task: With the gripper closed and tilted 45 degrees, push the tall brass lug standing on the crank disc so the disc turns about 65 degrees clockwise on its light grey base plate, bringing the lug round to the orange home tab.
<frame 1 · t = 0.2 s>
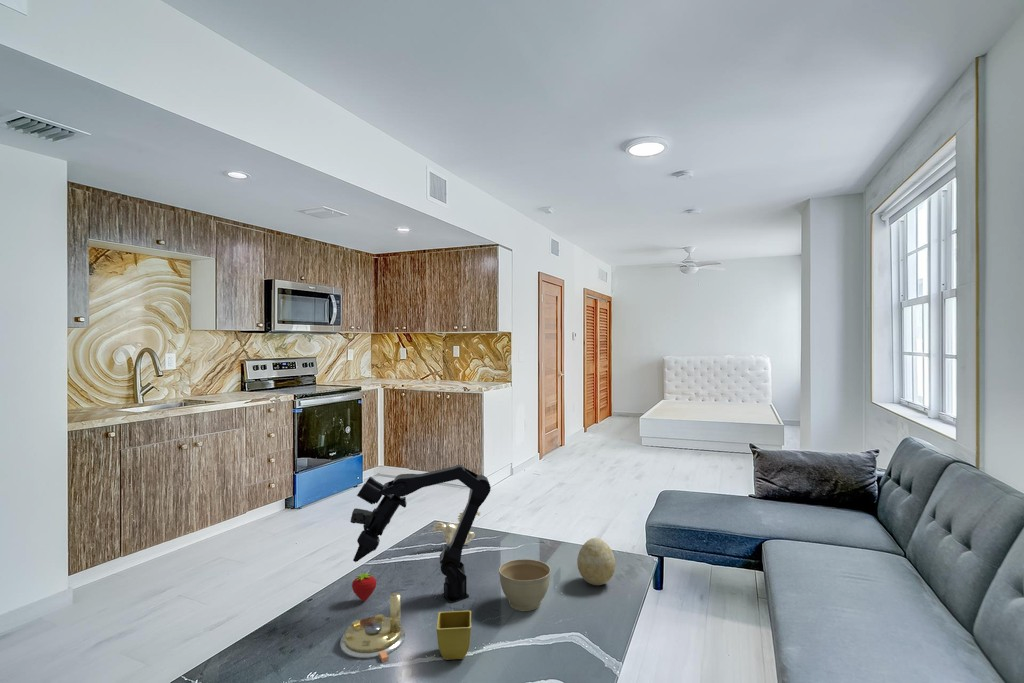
hand: (356, 555, 158), 15 cm above the table, tool tilted 35°, fingers open, 9 cm apart
planter bowl: (524, 604, 157), on the table
home tab: (383, 658, 129), on the table
flower pot: (454, 654, 131), on the table
base plate: (373, 639, 138), on the table
fossilized egg: (596, 584, 171), on the table
strawberry: (364, 602, 159), on the table
unicorn: (456, 548, 202), on the table
crank disc: (373, 615, 138), point 7 cm above the table, hinge at 0.0°
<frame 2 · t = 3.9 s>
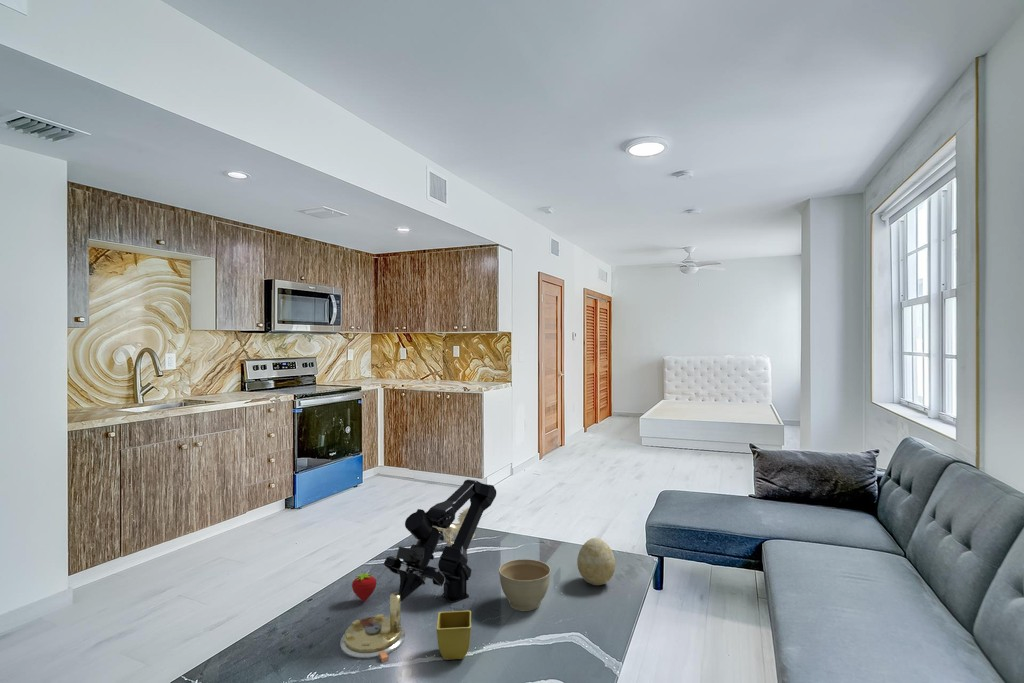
hand: (399, 600, 139), 10 cm above the table, tool tilted 45°, fingers closed, pressing on crank disc
crank disc: (373, 615, 138), point 7 cm above the table, hinge at -0.1°, touching gripper
everything else where it was.
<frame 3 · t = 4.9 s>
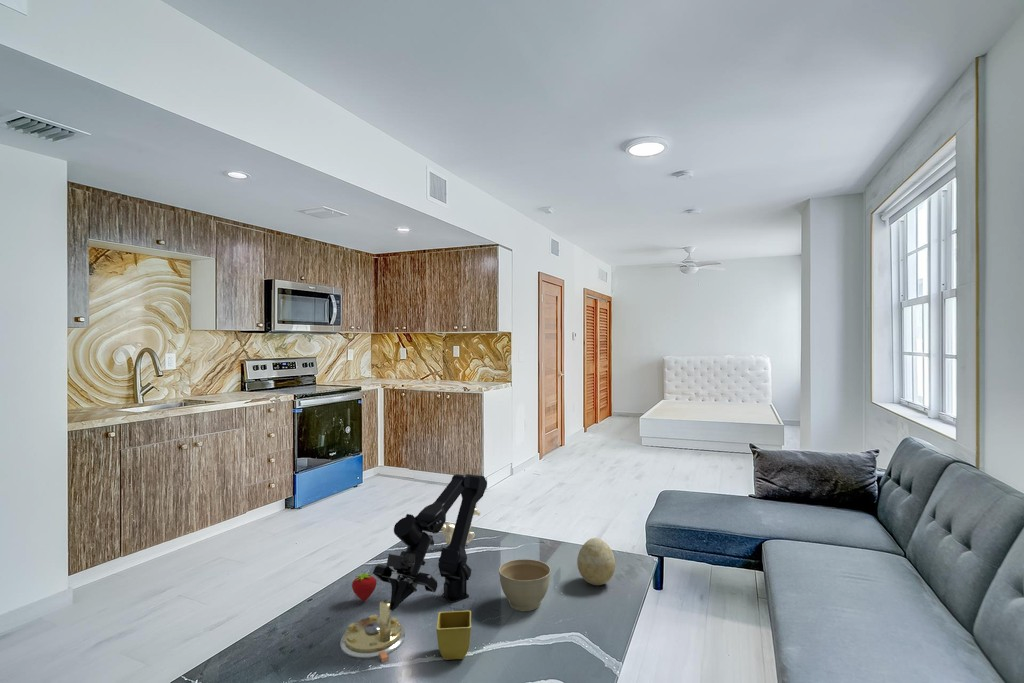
hand: (391, 610, 134), 10 cm above the table, tool tilted 45°, fingers closed, pressing on crank disc
crank disc: (373, 615, 138), point 7 cm above the table, hinge at -45.1°, touching gripper
everything else where it was.
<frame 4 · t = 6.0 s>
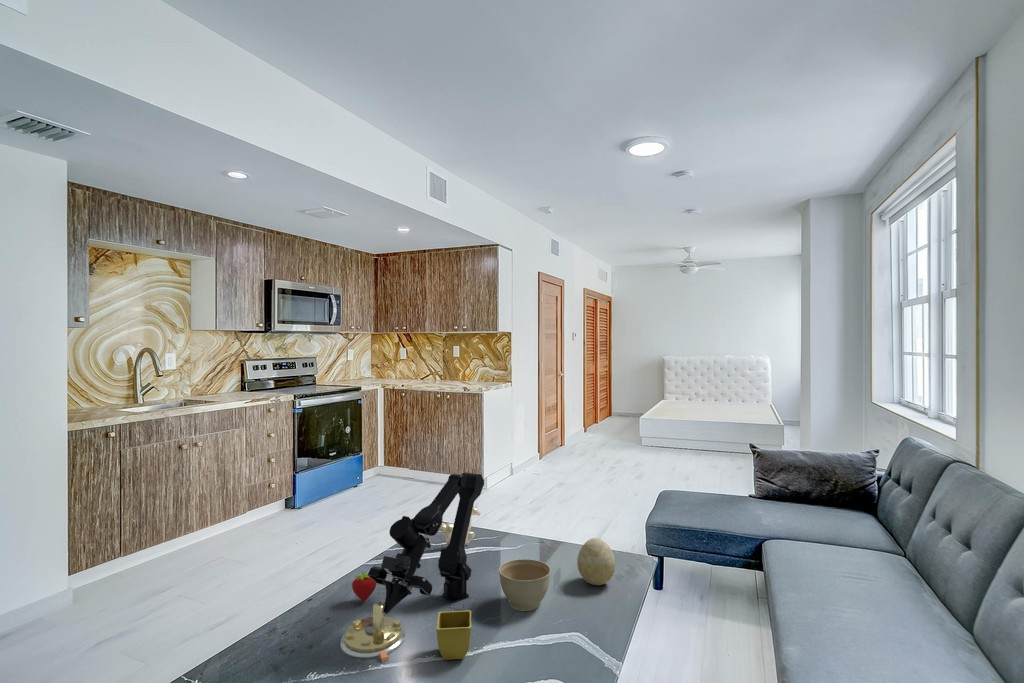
hand: (385, 613, 133), 10 cm above the table, tool tilted 45°, fingers closed
crank disc: (373, 615, 138), point 7 cm above the table, hinge at -62.3°, touching gripper
everything else where it was.
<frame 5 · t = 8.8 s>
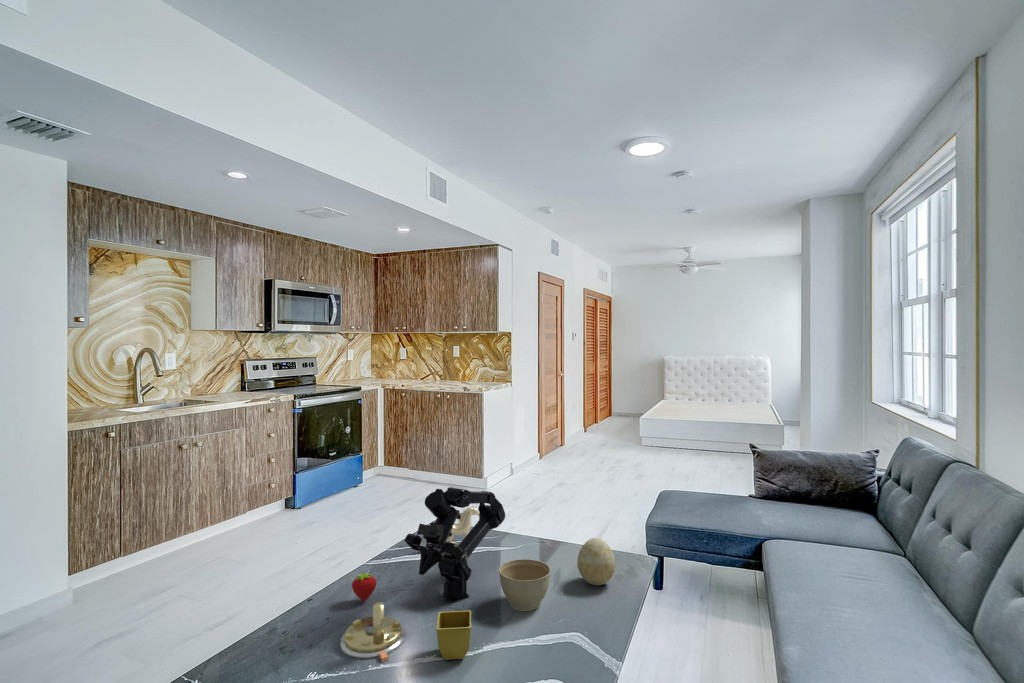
hand: (420, 574, 147), 14 cm above the table, tool tilted 45°, fingers closed
crank disc: (373, 615, 138), point 7 cm above the table, hinge at -62.3°
everything else where it was.
at the end: crank disc at -62° (first picture: +0°) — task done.
